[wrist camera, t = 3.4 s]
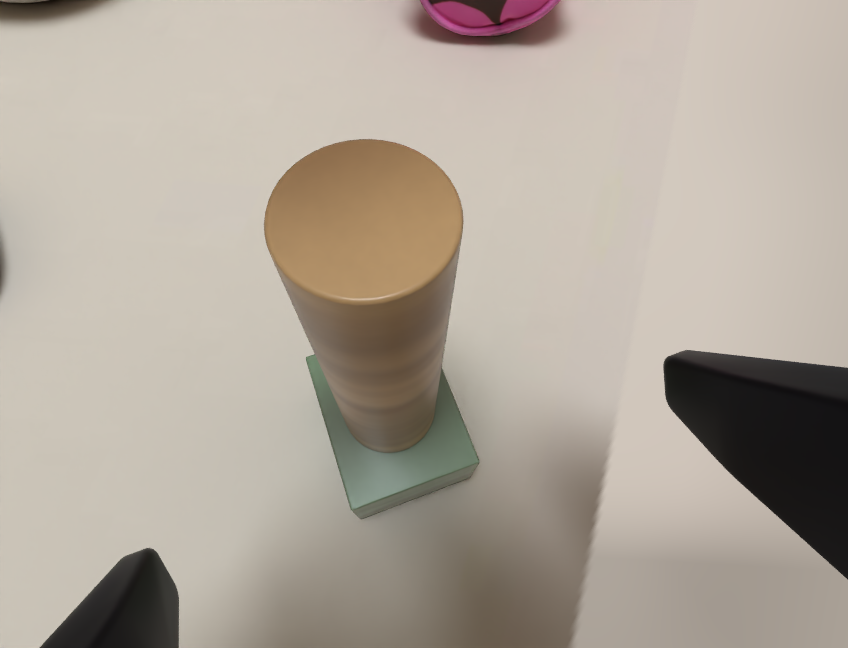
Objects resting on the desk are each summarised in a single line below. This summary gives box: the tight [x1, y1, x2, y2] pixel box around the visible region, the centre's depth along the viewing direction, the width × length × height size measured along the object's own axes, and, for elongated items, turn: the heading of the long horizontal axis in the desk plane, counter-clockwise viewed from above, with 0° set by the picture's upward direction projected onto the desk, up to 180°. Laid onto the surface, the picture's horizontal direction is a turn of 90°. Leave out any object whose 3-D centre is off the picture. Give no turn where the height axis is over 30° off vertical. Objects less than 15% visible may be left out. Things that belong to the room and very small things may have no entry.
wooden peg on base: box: [264, 139, 479, 519], centre depth 13 cm, size 5×4×13 cm
